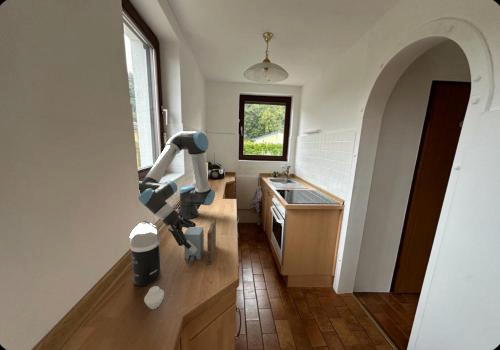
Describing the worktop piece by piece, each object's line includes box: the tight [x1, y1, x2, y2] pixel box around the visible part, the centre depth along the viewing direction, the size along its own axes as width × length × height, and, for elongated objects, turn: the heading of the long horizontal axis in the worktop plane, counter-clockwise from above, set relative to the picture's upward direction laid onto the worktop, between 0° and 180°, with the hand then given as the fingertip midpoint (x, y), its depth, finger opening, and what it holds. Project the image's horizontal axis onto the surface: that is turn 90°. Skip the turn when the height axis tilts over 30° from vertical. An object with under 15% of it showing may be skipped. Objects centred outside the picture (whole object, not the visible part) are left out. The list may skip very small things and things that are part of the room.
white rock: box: [143, 285, 165, 310], centre depth 63 cm, size 6×6×7 cm
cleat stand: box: [188, 218, 217, 266], centre depth 92 cm, size 16×10×16 cm, turn 2°
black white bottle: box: [129, 220, 162, 287], centre depth 74 cm, size 10×10×25 cm
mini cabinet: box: [183, 226, 205, 260], centre depth 92 cm, size 8×8×13 cm
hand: (199, 243), depth 93 cm, fingers open, 13 cm apart
